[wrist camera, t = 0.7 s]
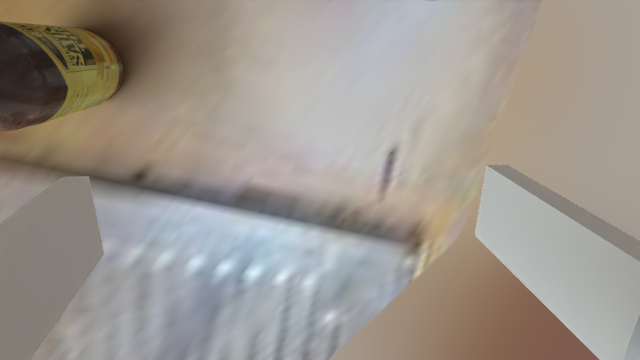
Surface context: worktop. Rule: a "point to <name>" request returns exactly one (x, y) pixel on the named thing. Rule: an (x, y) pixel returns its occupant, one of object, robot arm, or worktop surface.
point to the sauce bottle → (53, 73)
